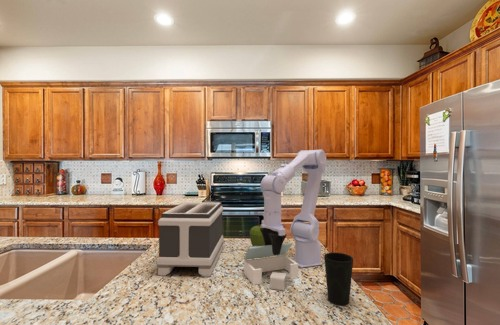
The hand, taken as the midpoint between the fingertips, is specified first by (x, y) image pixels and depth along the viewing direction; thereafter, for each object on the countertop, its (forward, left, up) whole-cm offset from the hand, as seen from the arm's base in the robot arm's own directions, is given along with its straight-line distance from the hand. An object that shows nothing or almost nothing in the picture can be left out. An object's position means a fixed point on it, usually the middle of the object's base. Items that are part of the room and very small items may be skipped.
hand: (272, 251), depth 87 cm
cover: (0, -3, -1) cm, 3 cm away
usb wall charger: (0, +8, -9) cm, 12 cm away
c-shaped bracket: (0, -1, -9) cm, 9 cm away
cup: (-11, +20, -9) cm, 24 cm away
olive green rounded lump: (-6, -26, -9) cm, 28 cm away
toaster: (+21, -26, -9) cm, 35 cm away
